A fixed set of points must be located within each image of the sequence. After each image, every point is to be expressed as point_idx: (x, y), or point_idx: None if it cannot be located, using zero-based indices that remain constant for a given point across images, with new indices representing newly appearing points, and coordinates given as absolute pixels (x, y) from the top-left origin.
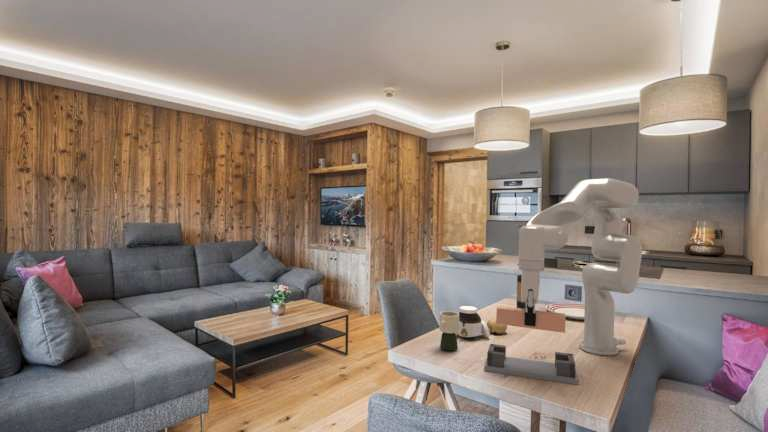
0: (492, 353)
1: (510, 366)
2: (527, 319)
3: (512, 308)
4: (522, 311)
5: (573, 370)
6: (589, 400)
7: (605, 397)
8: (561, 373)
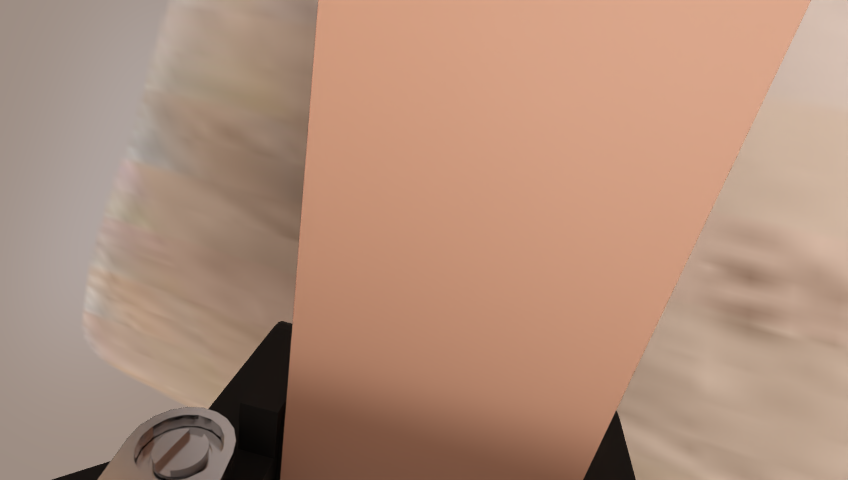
0: None
1: None
2: (257, 349)
3: (530, 168)
4: (294, 375)
5: None
6: (200, 347)
7: None
8: None
